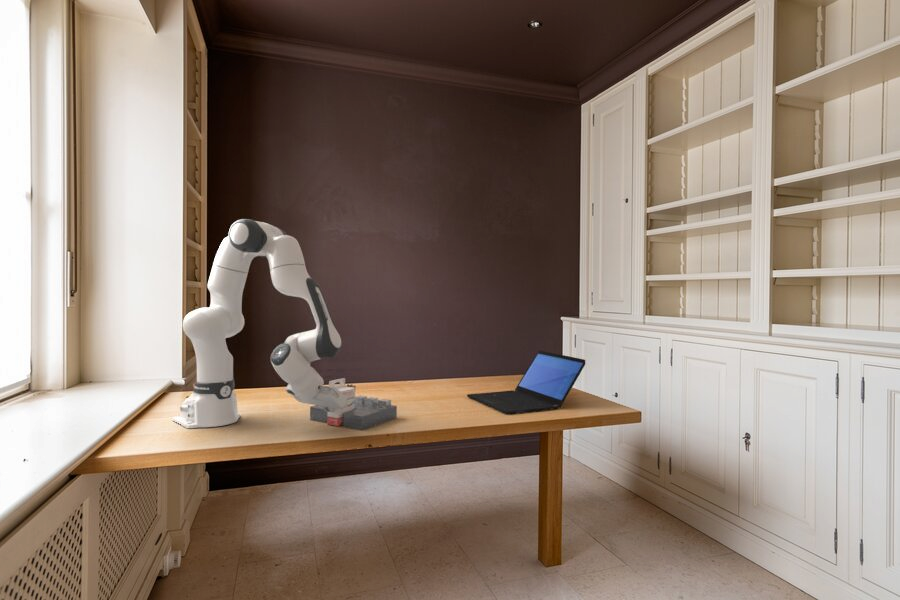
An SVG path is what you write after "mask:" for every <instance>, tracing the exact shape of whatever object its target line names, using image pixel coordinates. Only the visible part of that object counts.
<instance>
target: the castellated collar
mask: <svg viewBox="0 0 900 600" xmlns="http://www.w3.org/2000/svg"><path fill="white" fill-rule="evenodd" d="M397 409H398V407H397V405H393V404H392V399H386V398H382V399H379V397H373V396H370V397H369V396H367V395H361V394H360V395H355V408H354V410H351V411H348V412H344V413H343V425H342V427H344V426H345V428H349V427H350V428H349V429H355V430H358V431H359V430H360V431H364V430H367V429H368V430H369V429H370V427H371V428H373V427H376V426H379V425H382V424H385V423H388V422H390V421H389V420H391V421H393V420H392V419H394V420H396V419H395V418H397V417H398V416H397V414H398V412H397ZM327 414H328V412H327V411H325V410H324V409H323V408H321V407H320V406H318V405H312V406H310V408H309V420H310V421H316V422H319V423H325V424H327ZM387 421H388V422H387ZM384 422H385V423H384ZM381 423H382V424H381ZM378 424H379V425H378ZM375 425H376V426H375Z"/></svg>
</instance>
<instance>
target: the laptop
mask: <svg viewBox="0 0 900 600" xmlns="http://www.w3.org/2000/svg"><path fill="white" fill-rule="evenodd" d="M585 366H586V359H583V358H579V357H573V356H568V355H563V354H559V353H558V354H557V353H553V352H549V351H543V350H538V351H537V353H536V355H535V356H534V358H533V359H532V361H531V363H530V365H529V366H528V368H527V369H526V371H525V372H524V374H523V376H522V377H521V378H520V379H519V380H520V381H519V382H518V384H517V386H516V387H515V388H514V389H512V390H504V391H503V390H502V391H491V392H481V393H480V392H479V393H478V392H477V393H468V394H466V396H467V398H469V399H472V400H473V399H474V400H473V401H476V402H478V403H480V402H481V403H480V404H482V403H483V405H485V406H487V407H489V408H491V407H492V408H491V409H493V408H494V410H496V411H497V410H498V412H501V413H502V412H503V414H504V413H505V414H504V415H507V414H511V415H517V414H516V413H520V414H525V413H524V412H527V413H534V412H533V411H536V412H543V411H542V410H546V411H552V410H551V409H555V410H558V409H559V408H561V407H562V405H563V403H564V402H565V399H566V398H567V397H568V395H569V393H570V391H571V390H572V389H573V387H574V385H575V383H576V381H577V380H578V378H579V376H580V374H581V373H582V371H583V369H584V367H585Z"/></svg>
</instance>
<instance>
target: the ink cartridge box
mask: <svg viewBox="0 0 900 600" xmlns="http://www.w3.org/2000/svg"><path fill="white" fill-rule="evenodd" d="M337 383H338V384H337ZM328 386H329V387H334V388H336V389H337V390H339V391H340V392H341V393H342V394H343V395H344V396H345V397H346V398H347V403H346V405H345V407H344V408H343V409H342V410H341V409H335V410H334V412H328V414H327V423H326V424H327V425H330V426H333V427H340V425H341V426H343V413H344V412H348V411H351V410H354V408H355V397H356V394H355V393H356V388H353V387H347V386H346V378H345V377H344V378H337V379H332V380H329V381H328ZM345 386H346V387H345Z"/></svg>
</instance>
